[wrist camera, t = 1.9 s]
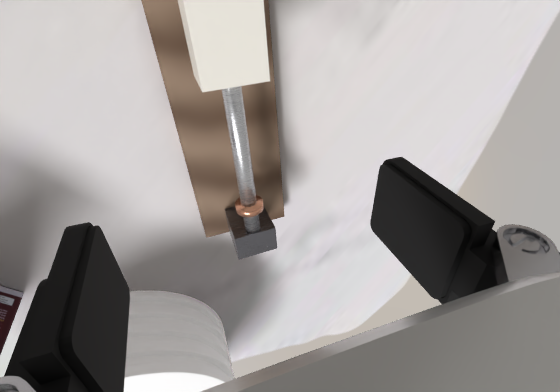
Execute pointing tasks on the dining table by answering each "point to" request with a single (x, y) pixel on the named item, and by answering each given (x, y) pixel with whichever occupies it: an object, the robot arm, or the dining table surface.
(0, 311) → the supplement box
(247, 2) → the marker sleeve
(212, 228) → the base board
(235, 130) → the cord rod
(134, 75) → the dining table surface
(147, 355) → the plate stack
